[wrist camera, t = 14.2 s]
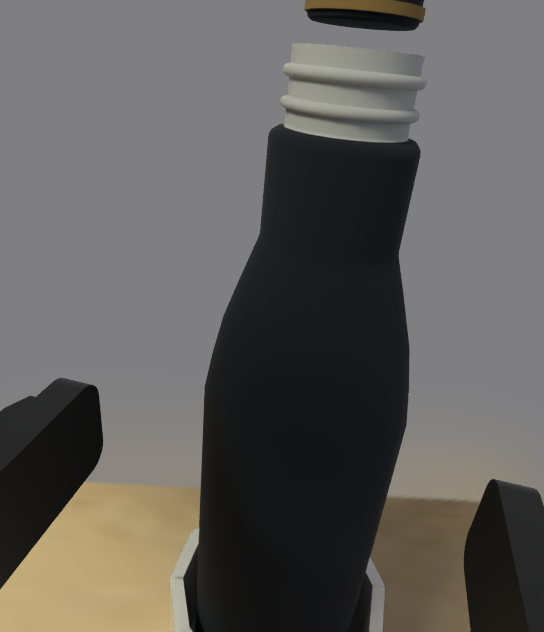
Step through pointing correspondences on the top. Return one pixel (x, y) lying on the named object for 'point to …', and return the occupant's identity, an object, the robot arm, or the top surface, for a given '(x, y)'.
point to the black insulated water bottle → (314, 344)
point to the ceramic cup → (184, 593)
